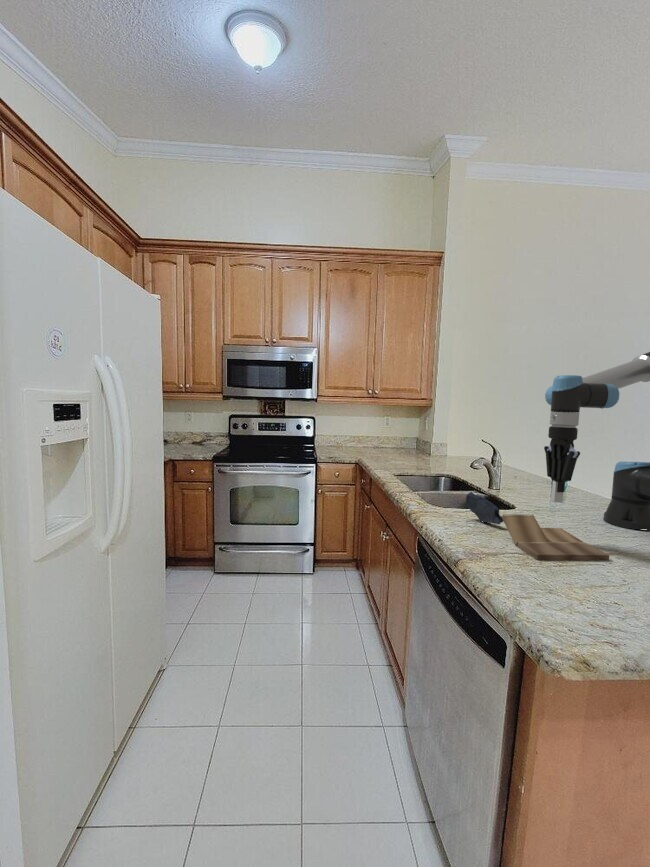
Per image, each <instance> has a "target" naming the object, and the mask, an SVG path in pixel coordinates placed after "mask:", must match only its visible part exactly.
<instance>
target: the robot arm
mask: <svg viewBox="0 0 650 867" xmlns="http://www.w3.org/2000/svg"><path fill="white" fill-rule="evenodd" d="M640 382H642V383H648V382H650V351H648V352H645V353H643V354H640V355H638V356H635V357H634V358H633V359H632V360H631V361H628V362H625V363H623V364H620V365H616V366H614V367H611V368H608V369H605V370H602V371H599V372H597V373H594V374H590V375H587V376H584V377H582V375H575V374H574V375H573V374H572V375H571V374H569V375H568V374H566V375H564V374H562V375H556V376H555V377H554V378H553V383H552V385H551V386H550V387H548V388H547V389H546V391H545V395H544V396H545V397H544V399H545V402H546V403H547V405H549V406H550V415H549V417H550V418H549V424H550V426H548V434H547V435H548V436H547V437H548V438H549V439H550V442H549V445H547V446H546V445H545V446H544V447H543V448H544V452H545V460H546V461H545V462H546V475H547V477H548V478H550V480H551V488H550V489H551V496H550V502H553V503H563V501H564V500H563V499H564V492H565V486H566V483H567V482H571V481H572V479H573V474H574V470H575V468H576V464H577V460H578V458H579V457H580V455H581V452H580V451H577V450H576V449H575V443H574V441H576V440H577V439H578V433H579V428H578V426H579V424H580V423H579V421H580V412H581V410H580V409H581V408H585V409H586V408H587V409H589V408H590V409H610V408H613V407H614V406H616V405H617V404H618V402H619V399H620V390H619V389H622V388H625V387H627V386H630V385H634V384H636V383H640ZM614 466H615V467H614V470H613V479H612V487H611V499H610V501H609V503H608V506H607V508H606V511H604V513H603V519H602V520H603V521H604V522H606V523H607V524H610V525H614V526H617V527H620V528H624V527H626V528H625V529H629V528H632V529H631V530H634V529H647V530H650V461H618V462H616V464H615V465H614Z"/></svg>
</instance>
